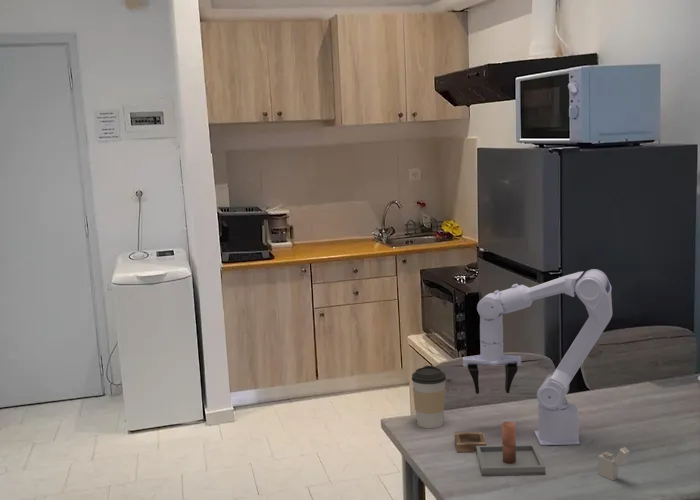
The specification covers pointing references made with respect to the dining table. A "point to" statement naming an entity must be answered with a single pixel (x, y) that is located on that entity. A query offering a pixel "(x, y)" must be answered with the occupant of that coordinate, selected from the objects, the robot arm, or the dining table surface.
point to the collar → (469, 437)
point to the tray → (524, 465)
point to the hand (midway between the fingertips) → (492, 392)
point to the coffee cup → (429, 396)
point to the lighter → (611, 463)
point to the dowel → (509, 442)
